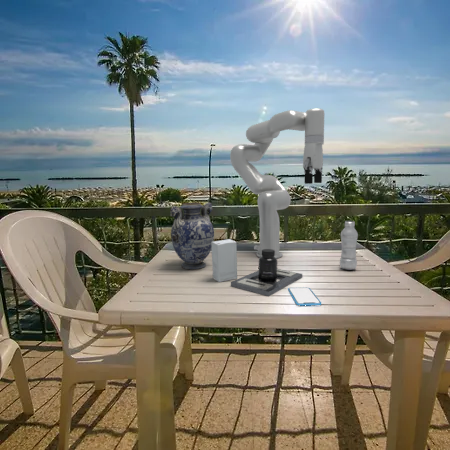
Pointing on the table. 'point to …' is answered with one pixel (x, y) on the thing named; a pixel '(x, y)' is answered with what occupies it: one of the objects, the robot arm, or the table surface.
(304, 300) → the smartphone
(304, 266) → the table surface
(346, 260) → the plastic bottle
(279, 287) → the label panel
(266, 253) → the supplement bottle
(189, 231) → the decorative vase
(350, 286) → the table surface
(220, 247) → the skincare box
